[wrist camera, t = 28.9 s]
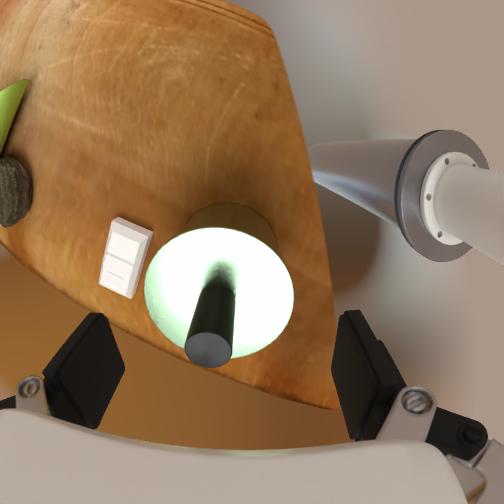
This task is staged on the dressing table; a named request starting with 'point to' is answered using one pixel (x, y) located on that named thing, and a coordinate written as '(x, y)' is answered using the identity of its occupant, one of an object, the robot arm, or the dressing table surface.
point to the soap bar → (124, 257)
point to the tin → (234, 221)
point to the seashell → (13, 191)
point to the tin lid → (218, 293)
